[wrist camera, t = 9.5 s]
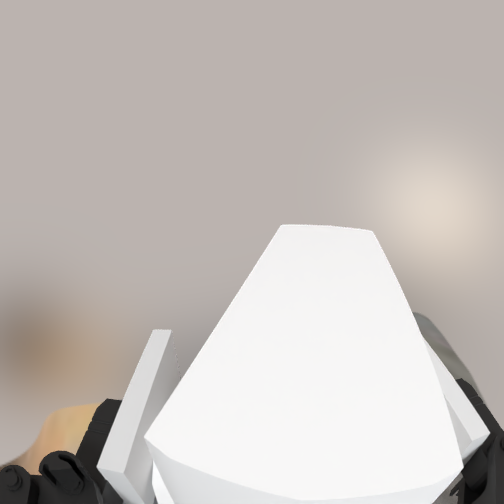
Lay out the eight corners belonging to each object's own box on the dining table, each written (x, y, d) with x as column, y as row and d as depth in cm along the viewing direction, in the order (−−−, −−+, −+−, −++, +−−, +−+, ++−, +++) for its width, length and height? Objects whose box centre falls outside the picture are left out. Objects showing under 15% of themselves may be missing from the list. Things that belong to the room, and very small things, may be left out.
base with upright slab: (375, 601, 5) (622, 426, 1) (155, 570, 7) (-27, 364, 3) (381, 454, 13) (451, 235, 9) (218, 436, 15) (198, 219, 11)
